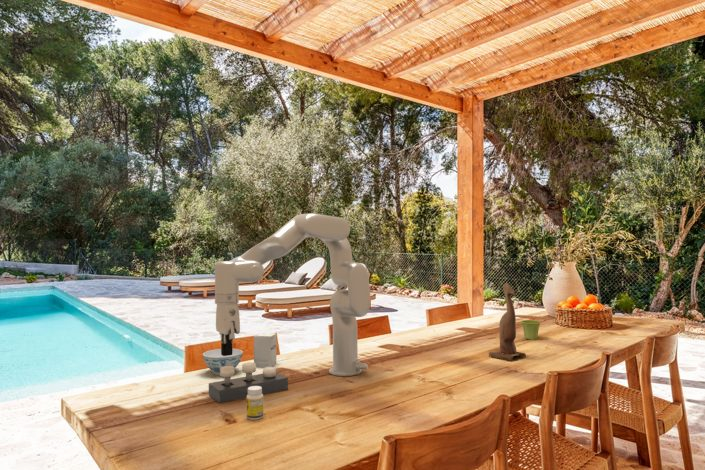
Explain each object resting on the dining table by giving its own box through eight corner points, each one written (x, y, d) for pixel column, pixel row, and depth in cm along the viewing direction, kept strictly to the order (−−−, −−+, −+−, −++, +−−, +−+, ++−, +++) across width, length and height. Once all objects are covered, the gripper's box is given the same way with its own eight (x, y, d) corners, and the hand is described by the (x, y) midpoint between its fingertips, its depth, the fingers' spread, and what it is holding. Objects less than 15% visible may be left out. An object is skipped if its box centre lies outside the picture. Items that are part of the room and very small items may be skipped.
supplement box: (270, 368, 194) (270, 336, 194) (253, 367, 196) (253, 335, 196) (277, 363, 201) (276, 332, 202) (260, 362, 203) (260, 332, 203)
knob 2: (272, 382, 170) (272, 366, 170) (278, 385, 166) (278, 368, 166) (260, 384, 167) (260, 368, 168) (266, 387, 164) (266, 370, 164)
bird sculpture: (512, 363, 200) (514, 285, 200) (487, 357, 208) (489, 282, 208) (526, 358, 207) (528, 283, 207) (502, 353, 216) (503, 281, 216)
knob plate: (274, 382, 174) (274, 371, 174) (288, 389, 165) (287, 377, 165) (208, 395, 160) (208, 383, 160) (219, 403, 152) (219, 390, 152)
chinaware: (230, 365, 198) (230, 346, 198) (250, 372, 188) (250, 352, 188) (195, 372, 188) (195, 352, 188) (215, 380, 177) (214, 359, 177)
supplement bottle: (247, 414, 142) (247, 385, 142) (264, 413, 142) (263, 385, 142) (245, 420, 137) (245, 390, 137) (262, 419, 137) (262, 390, 137)
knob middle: (252, 378, 166) (252, 361, 166) (257, 381, 162) (257, 364, 162) (240, 380, 163) (240, 363, 163) (245, 383, 160) (245, 366, 160)
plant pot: (543, 340, 242) (543, 323, 242) (524, 340, 242) (524, 323, 242) (536, 336, 251) (536, 320, 252) (518, 337, 252) (518, 320, 252)
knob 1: (231, 382, 161) (231, 365, 161) (236, 385, 158) (236, 368, 158) (218, 384, 159) (218, 367, 159) (223, 387, 155) (223, 370, 155)
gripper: (246, 300, 155) (246, 357, 154) (229, 296, 167) (229, 349, 167) (224, 301, 150) (223, 361, 150) (207, 297, 163) (207, 352, 162)
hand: (226, 355), depth 158 cm, fingers closed
